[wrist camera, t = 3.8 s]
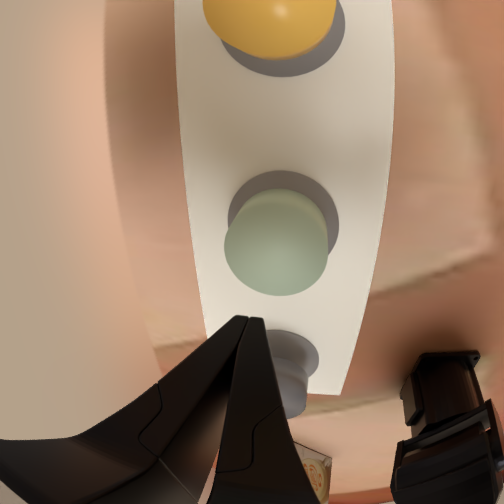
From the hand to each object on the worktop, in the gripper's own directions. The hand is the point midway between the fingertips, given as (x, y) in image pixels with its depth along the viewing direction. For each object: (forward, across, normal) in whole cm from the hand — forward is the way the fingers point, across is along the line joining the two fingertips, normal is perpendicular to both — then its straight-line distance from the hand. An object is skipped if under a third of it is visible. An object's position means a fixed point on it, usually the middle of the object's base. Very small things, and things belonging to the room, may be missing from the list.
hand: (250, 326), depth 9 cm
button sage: (+7, 0, 0) cm, 7 cm away
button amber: (+6, 0, -10) cm, 12 cm away
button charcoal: (+6, 0, +10) cm, 12 cm away
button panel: (+10, 0, 0) cm, 10 cm away
